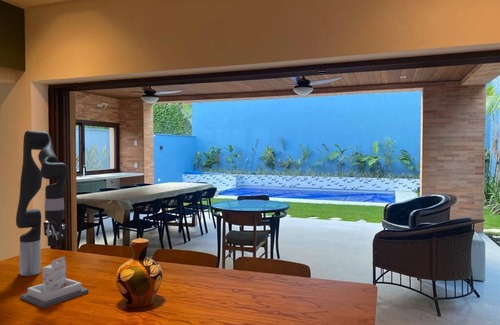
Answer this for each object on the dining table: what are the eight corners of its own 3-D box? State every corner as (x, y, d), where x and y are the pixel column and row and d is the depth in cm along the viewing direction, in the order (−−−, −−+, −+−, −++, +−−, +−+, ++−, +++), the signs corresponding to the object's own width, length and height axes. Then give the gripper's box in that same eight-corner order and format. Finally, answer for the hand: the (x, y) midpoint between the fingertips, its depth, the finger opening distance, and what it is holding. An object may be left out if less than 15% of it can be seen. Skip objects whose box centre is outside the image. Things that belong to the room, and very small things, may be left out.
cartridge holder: (20, 298, 160) (20, 288, 160) (65, 284, 177) (65, 275, 176) (43, 308, 150) (43, 297, 150) (88, 292, 167) (88, 282, 167)
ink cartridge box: (57, 287, 168) (57, 255, 168) (66, 288, 167) (66, 255, 167) (42, 294, 160) (42, 260, 160) (52, 295, 159) (51, 261, 158)
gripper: (36, 208, 163) (37, 246, 164) (55, 211, 155) (55, 251, 156) (53, 206, 170) (54, 243, 170) (72, 208, 162) (72, 247, 162)
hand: (54, 246), depth 163 cm, fingers open, 6 cm apart
